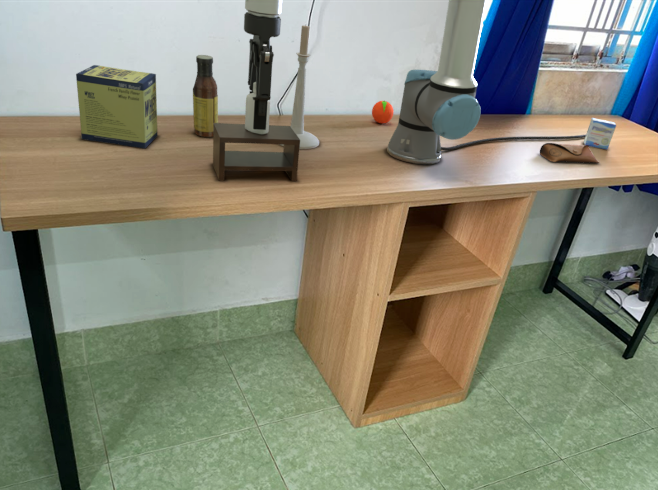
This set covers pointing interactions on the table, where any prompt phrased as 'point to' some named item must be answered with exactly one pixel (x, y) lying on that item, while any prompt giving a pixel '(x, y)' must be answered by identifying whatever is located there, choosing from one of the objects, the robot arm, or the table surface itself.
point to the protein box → (117, 106)
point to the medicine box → (599, 133)
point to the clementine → (382, 112)
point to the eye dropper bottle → (250, 113)
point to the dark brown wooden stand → (251, 158)
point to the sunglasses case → (567, 153)
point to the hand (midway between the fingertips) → (256, 124)
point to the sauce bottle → (205, 97)
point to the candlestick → (302, 96)
